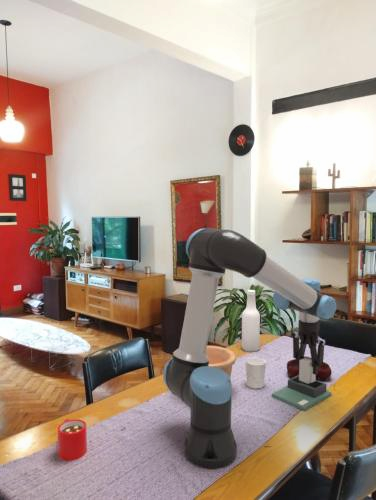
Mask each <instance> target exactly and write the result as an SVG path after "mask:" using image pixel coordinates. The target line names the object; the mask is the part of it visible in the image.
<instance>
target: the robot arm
mask: <svg viewBox="0 0 376 500" xmlns="http://www.w3.org/2000/svg"><path fill="white" fill-rule="evenodd" d="M185 253H186V255H187V257H188V258H189V265H188V269H189V271H190V272H191V279H190V286H189V289H188V290H189V291H188V297H187V303H186V306H185V307H186V308H185V311H184V320H183V323H182V324H183V325H182V329H181V335H180V341H179V346H178V348H177V349H176V350H174V351H173V352H172V357H170V358H169V360H168V361H166V363H165V365H164V368H163V373H162V374H163V375H162V376H163V383H164V384H165V386H166V387H167V389H168V390H169V391H170V393H171V394H172V395H174V396H176V397H177V398H178V399H180V401H182V402H183V403H184V404H185V405H186V406H187V407H189V409H190V410H189V411H190V420H189V421H190V425H189V426H190V427H189V429H188V431H187V435H186V438H185V441H184V446H183V449H184V453H183V454H184V456H185V457H186V459H187V460H188V461H189V462H190V463H191V464H193V465H195V466H197V467H201V468H203V469H204V468H205V469H219V468H224V467H227V466H229V465H230V464H232V463H233V462H234V461H235V460H236V458H237V456H238V455H237V453H238V445H237V441H236V440H235V435H234V432H233V429H232V398H233V397H232V394H233V388H232V380H231V378H230V377H229V375H228V374H227V373H226V372H224V371H223V370H221V369H219V368H213V367H210V366H208V365H209V357H208V356H207V354H206V349H207V346H208V342H209V335H210V331H211V325H212V319H213V315H214V309H215V305H216V304H215V303H216V298H217V294H218V293H217V291H218V286H219V281H220V278H222V277H223V276H224V275H225V274H226V270H227V271H228V270H229V271H232V272H236V273H239V274H241V275H242V276H244V277H246V278H248V279H250V278H254V279H255V280H256V281H258V282H260V283H261V284H263V285H264V286H266V287H268V288H269V289H270V290H272V291H273V294H272V300H273V301H272V302H273V304H274V305H275V307H276V308H277V309H279V310H280V311H281V310H288V309H289V310H293V311H297V312H298V319H299V320H298V323H297V324H298V327H297V328H298V331H295V332H293V333H291V336H292V351H293V352H292V358H293V359H297V360H298V369H299V361H300V360H301V359H303V358H304V356H305V354H306V348H307V345H308V348H309V351H310V352H309V353H310V357H311V359H312V365H311V366H310V383H312V382H314V381H316V380H317V378H316V374H317V373H318V366H320V365H322V364H323V362H324V355H325V354H324V352H325V345H326V342H327V340H326V339H323V338H321V337H320V333H319V331H320V321H319V320H320V319H324V320H329V319H331V318H332V317H333V316H334V315H335V313H336V310H337V303H336V299H335V298H334V297H332V296H329V295H327V294H322V293H321V292H322V291H321V281H320V280H319V279H317V278H316V279H315V278H301V279H300V278H299V277H297V276H295V275H294V274H293V273H291V272H290V271H288V270H287V269H285V268H284V267H283V266H281V265H280V264H279V263H277V262H275V260H273V259H272V258H271V257H269V256H268V254H267V252H266V250H264V249H263V248H262V247H261V246H259V245H258V244H257V243H255V242H254V241H252V240H251V239H249V238H248V237H246V236H245V235H243V234H241V233H240V232H238V231H235V230H232V229H220V228H213V227H212V228H211V227H207V228H206V227H205V228H199V229H198V230H197V229H196V231H193V233H191V235H190V236H189V237H188V239H187V241H186V244H185Z"/></svg>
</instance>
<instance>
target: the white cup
mask: <svg viewBox="0 0 376 500" xmlns="http://www.w3.org/2000/svg"><path fill="white" fill-rule="evenodd" d="M266 362H267V360H266V359H264V358H262V357H256V356H255V357H253V356H252V357H248V358H246V359H245V376H246V386H247V387H248V388H250V389H251V388H252V389H255V390H256V389H258V388H259V389H262V388H263V387H264V386H265V377H266Z"/></svg>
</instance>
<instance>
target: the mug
mask: <svg viewBox="0 0 376 500" xmlns="http://www.w3.org/2000/svg"><path fill="white" fill-rule="evenodd" d="M87 443H88V441H87V423H86V422H85V421H84V420H82V419H76V418H73V419H70V418H65V419H64V421H63V422H61V423H60V424H59V425H58V426H57V444H58V446H57V447H58V457H59V458H60V459H61V460H63V461H67V462H70V461H76V460H79V459H81V458H82V457H84V456H85V455H86V454H87V451H88V447H87V446H88V444H87Z"/></svg>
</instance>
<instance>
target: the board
mask: <svg viewBox="0 0 376 500" xmlns="http://www.w3.org/2000/svg"><path fill="white" fill-rule="evenodd" d="M332 395H333V393H332V392H331V391H329V390H327V383H325V382H323V381H321V380H317V379H316V381H314V382H312V383H309V384H307V383H305V382H302V381H299V375H297V376H295V377H293V378H292V377H291V378H289V379H287V386H285V387H282V388H281V389H278V390H276V391H274V392H273V393H271V397H272V398H274V399H276V400H279V401H280V400H281V401H280V402H283V403H285V404H287V405H290V406H291V407H295V408H297V409H299V410H301V411H303V412H306V411H307V410H309V409H311V408H312V407H314V406H316V405H318V404H319V403H321V402H323V401H324V400H326V399H328V398H330V397H331V396H332Z"/></svg>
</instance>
